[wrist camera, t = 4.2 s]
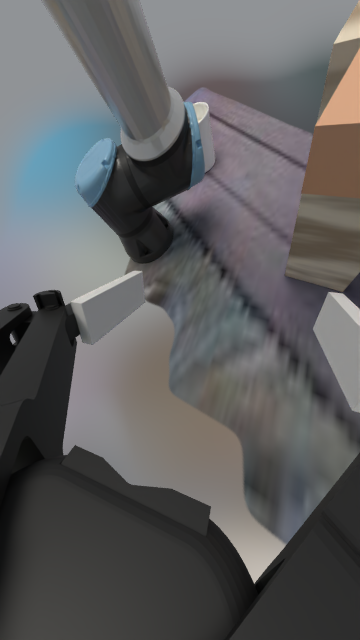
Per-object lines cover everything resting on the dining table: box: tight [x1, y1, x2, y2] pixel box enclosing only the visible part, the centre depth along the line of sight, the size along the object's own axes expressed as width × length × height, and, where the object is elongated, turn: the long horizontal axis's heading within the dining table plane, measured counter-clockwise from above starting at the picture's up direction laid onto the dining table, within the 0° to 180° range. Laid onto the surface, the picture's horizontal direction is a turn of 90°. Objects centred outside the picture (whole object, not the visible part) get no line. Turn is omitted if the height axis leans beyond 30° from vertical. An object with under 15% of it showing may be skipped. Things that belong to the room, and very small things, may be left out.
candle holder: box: [193, 102, 215, 173], centre depth 53 cm, size 10×10×12 cm
